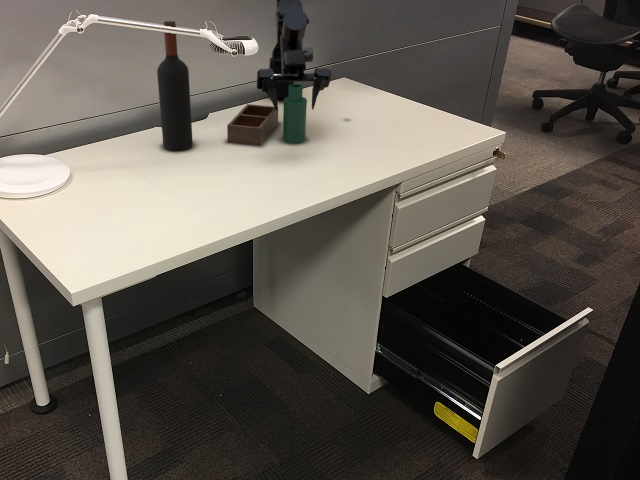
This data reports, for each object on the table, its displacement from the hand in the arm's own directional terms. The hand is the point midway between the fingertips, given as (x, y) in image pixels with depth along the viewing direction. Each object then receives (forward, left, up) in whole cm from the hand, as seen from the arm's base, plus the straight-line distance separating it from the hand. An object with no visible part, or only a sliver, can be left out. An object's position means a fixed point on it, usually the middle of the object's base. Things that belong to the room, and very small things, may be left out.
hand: (295, 109), depth 169 cm
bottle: (0, 0, -8) cm, 8 cm away
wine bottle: (-17, -25, -8) cm, 31 cm away
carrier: (-11, -4, -8) cm, 14 cm away
